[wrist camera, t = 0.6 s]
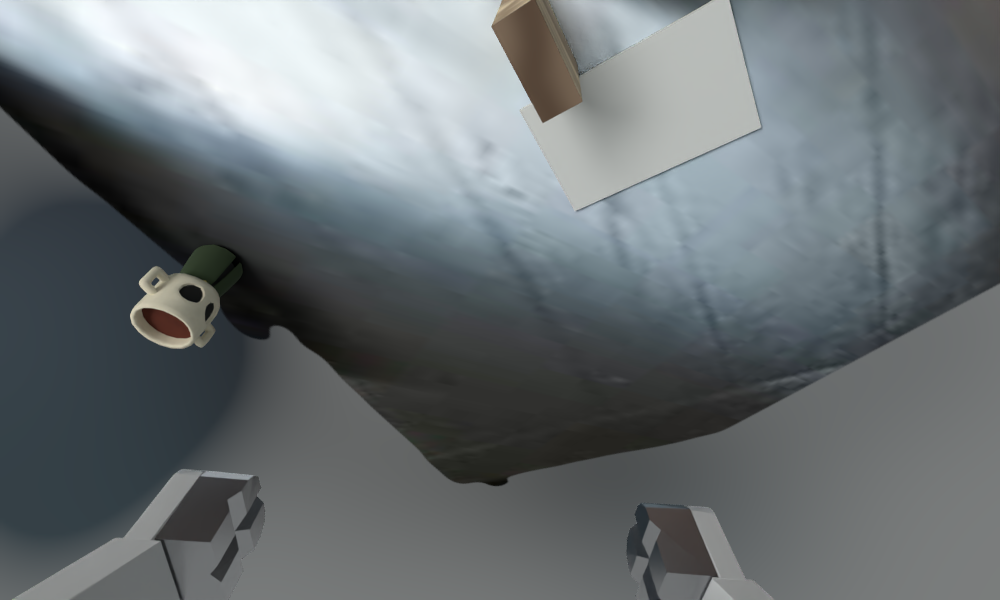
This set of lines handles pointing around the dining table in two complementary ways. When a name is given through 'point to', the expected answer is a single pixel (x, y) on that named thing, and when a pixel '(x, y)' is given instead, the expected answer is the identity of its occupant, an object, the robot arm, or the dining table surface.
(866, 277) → the dining table surface
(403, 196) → the dining table surface
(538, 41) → the oak slab
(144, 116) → the dining table surface
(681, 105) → the felt mat
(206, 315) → the character mug
